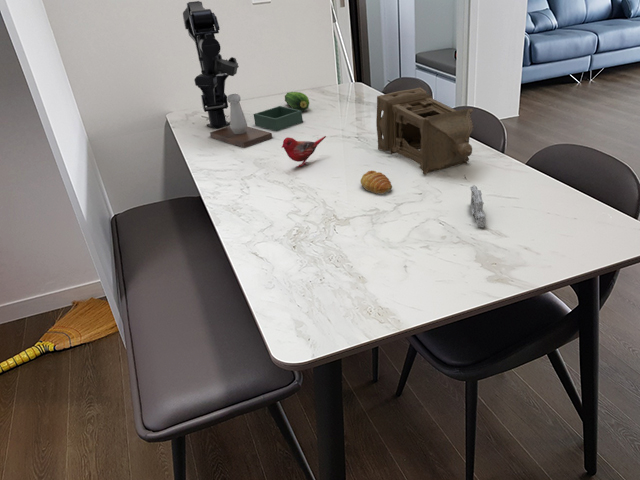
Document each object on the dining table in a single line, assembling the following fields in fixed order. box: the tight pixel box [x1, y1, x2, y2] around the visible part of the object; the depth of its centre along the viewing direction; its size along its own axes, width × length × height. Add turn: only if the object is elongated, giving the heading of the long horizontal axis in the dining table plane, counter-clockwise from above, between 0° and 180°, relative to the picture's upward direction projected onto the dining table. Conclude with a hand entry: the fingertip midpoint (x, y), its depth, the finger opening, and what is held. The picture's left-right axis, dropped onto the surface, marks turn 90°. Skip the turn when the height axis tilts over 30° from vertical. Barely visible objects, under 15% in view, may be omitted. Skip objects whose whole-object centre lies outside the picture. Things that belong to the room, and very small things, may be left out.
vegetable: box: [284, 91, 310, 112], centre depth 214 cm, size 7×7×20 cm
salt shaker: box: [227, 93, 248, 134], centre depth 183 cm, size 6×6×13 cm
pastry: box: [360, 170, 393, 195], centre depth 141 cm, size 9×7×4 cm
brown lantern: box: [375, 86, 474, 176], centre depth 152 cm, size 35×18×18 cm, turn 26°
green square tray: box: [252, 105, 304, 132], centre depth 197 cm, size 13×13×4 cm
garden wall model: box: [469, 184, 486, 228], centre depth 123 cm, size 12×2×6 cm, turn 178°
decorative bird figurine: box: [281, 135, 327, 168], centre depth 158 cm, size 3×18×10 cm, turn 137°
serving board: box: [209, 125, 273, 149], centre depth 187 cm, size 20×12×2 cm, turn 46°
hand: (218, 100), depth 181 cm, fingers open, 9 cm apart
